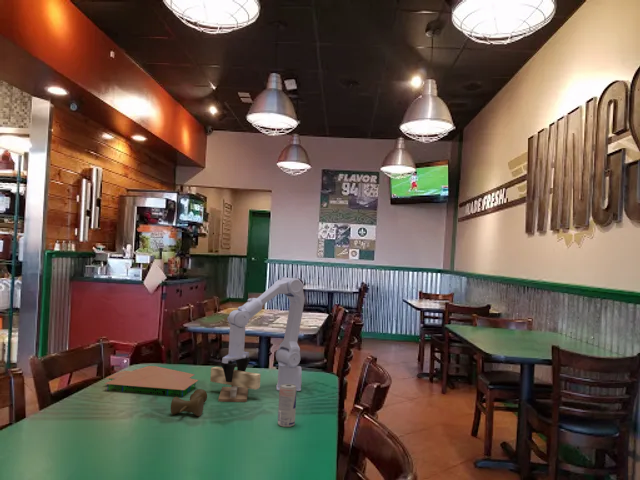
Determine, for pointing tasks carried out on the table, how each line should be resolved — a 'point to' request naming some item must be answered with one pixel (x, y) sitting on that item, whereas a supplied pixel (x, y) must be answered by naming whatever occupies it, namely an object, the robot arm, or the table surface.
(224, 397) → the ridge stand
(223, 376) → the maple bar
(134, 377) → the brown flat slab
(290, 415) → the energy drink
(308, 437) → the table surface
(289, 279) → the robot arm
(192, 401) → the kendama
